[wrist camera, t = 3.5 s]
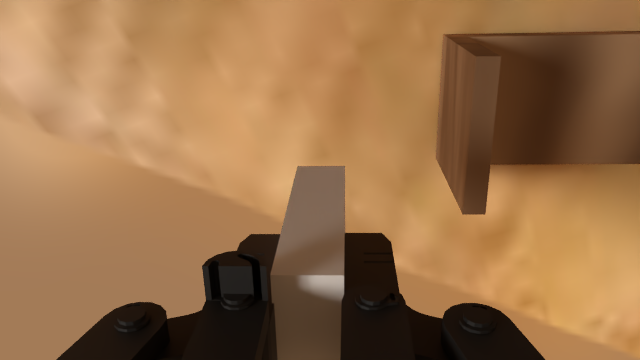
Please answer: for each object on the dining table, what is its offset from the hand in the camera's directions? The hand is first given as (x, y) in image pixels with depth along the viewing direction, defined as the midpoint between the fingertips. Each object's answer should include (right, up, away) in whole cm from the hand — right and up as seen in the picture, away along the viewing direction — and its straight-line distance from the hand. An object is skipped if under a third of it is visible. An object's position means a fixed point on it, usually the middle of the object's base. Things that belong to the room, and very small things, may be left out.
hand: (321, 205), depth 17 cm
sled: (+18, +5, +12) cm, 23 cm away
